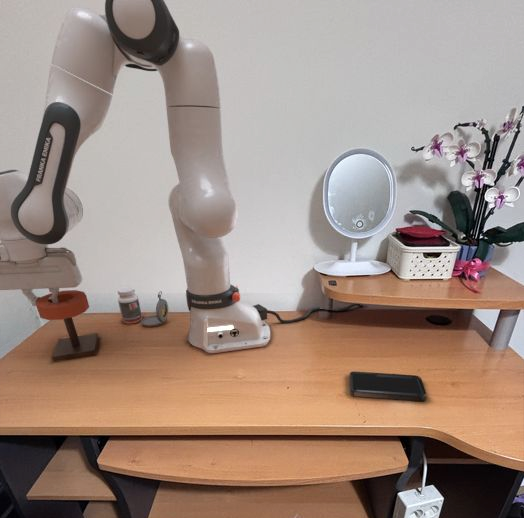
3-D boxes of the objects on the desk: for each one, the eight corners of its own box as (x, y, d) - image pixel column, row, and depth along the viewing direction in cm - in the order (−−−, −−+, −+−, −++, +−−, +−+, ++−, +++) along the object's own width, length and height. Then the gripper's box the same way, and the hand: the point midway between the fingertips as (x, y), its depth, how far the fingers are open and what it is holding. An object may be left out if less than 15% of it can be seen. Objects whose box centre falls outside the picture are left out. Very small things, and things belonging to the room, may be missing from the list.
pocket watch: (140, 320, 114) (133, 289, 109) (168, 315, 117) (163, 284, 112) (144, 331, 107) (137, 299, 102) (173, 325, 110) (168, 293, 105)
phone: (427, 397, 75) (350, 391, 78) (426, 401, 76) (350, 395, 78) (420, 375, 82) (349, 370, 84) (419, 379, 82) (349, 374, 85)
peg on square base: (99, 337, 105) (87, 295, 99) (95, 355, 97) (82, 310, 90) (60, 343, 103) (45, 301, 96) (53, 361, 94) (37, 316, 88)
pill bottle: (146, 319, 115) (139, 288, 110) (129, 325, 111) (122, 294, 106) (135, 314, 118) (129, 284, 113) (119, 320, 114) (111, 289, 109)
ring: (94, 300, 99) (91, 289, 98) (78, 319, 89) (75, 306, 88) (51, 302, 99) (48, 291, 97) (31, 320, 89) (26, 308, 87)
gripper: (77, 243, 89) (92, 298, 96) (-9, 246, 89) (12, 301, 96) (66, 250, 84) (82, 308, 91) (-27, 254, 84) (-3, 311, 90)
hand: (45, 304), depth 93 cm, fingers closed on ring, 3 cm apart
